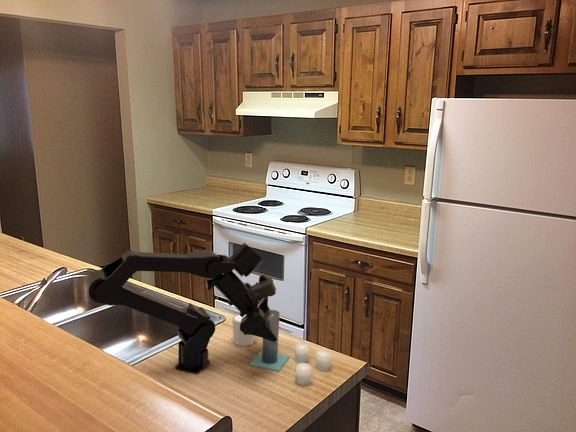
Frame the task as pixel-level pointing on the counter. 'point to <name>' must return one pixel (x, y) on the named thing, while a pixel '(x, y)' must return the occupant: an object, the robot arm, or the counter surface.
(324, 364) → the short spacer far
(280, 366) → the teal pad
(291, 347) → the counter surface
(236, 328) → the white cylinder
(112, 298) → the robot arm
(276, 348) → the dark metallic domed cylinder
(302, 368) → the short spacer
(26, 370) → the counter surface
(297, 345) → the cylinder
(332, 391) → the counter surface
